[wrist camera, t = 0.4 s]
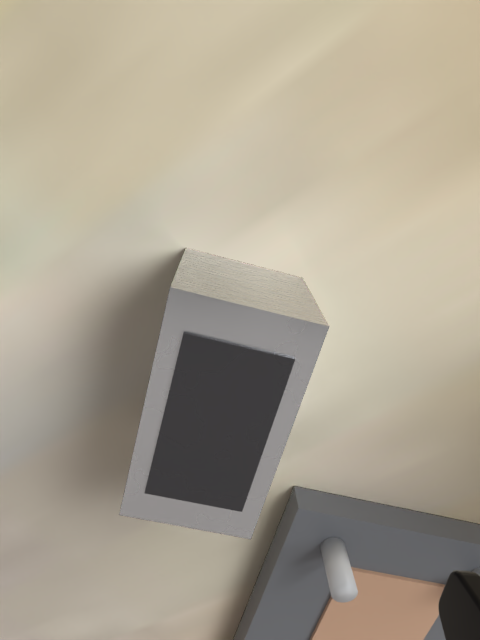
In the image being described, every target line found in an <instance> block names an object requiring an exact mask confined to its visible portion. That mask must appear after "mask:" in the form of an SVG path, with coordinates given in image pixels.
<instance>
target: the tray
mask: <svg viewBox="0 0 480 640" xmlns="http://www.w3.org/2000/svg"><path fill="white" fill-rule="evenodd" d="M455 570H458V571H471V572H475V573H477V574H478V575H479V576H480V524H476V523H471V522H466V521H461V520H456V519H451V518H447V517H442V516H437V515H432V514H427V513H422V512H418V511H413V510H408V509H403V508H398V507H393V506H389V505H384V504H379V503H374V502H369V501H364V500H359V499H355V498H350V497H345V496H340V495H335V494H330V493H326V492H321V491H316V490H311V489H306V488H301V487H296V486H294V488H293V491H292V493H291V496H290V498H289V501H288V503H287V506H286V508H285V511H284V513H283V516H282V518H281V521H280V523H279V526H278V528H277V531H276V533H275V536H274V538H273V541H272V543H271V546H270V548H269V551H268V554H267V556H266V559H265V561H264V564H263V566H262V569H261V571H260V574H259V576H258V579H257V581H256V584H255V586H254V589H253V591H252V594H251V596H250V599H249V601H248V604H247V606H246V609H245V611H244V614H243V616H242V619H241V621H240V624H239V626H238V629H237V631H236V634H235V636H234V639H233V640H446V639H445V635H444V631H443V627H442V624H441V620H440V616H439V606H438V605H439V599H440V597H441V594H442V592H443V589H444V587H445V584H446V582H447V580H448V577H449V575H450V573H451V572H453V571H455Z"/></svg>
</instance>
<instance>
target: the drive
mask: <svg viewBox="0 0 480 640" xmlns="http://www.w3.org/2000/svg"><path fill="white" fill-rule="evenodd" d="M328 329H329V325H328V323H327V321H326V320H325V318H324V316H323V314H322V312H321V310H320V308H319V307H318V305H317V303H316V301H315V299H314V297H313V296H312V294H311V292H310V290H309V288H308V286H307V285H306V283H305V281H304V279H303V278H302V277H298V276H294V275H290V274H286V273H283V272H279V271H275V270H271V269H267V268H263V267H259V266H256V265H252V264H248V263H244V262H240V261H236V260H232V259H228V258H225V257H221V256H217V255H213V254H209V253H205V252H201V251H198V250H194V249H190V248H186V249H185V251H184V254H183V256H182V259H181V261H180V264H179V266H178V269H177V271H176V274H175V276H174V279H173V281H172V284H171V286H170V290H169V294H168V299H167V303H166V308H165V312H164V317H163V321H162V326H161V330H160V335H159V339H158V344H157V348H156V353H155V357H154V362H153V366H152V370H151V375H150V379H149V384H148V388H147V393H146V397H145V402H144V406H143V411H142V415H141V420H140V424H139V429H138V433H137V438H136V442H135V446H134V451H133V455H132V460H131V464H130V469H129V473H128V478H127V482H126V487H125V491H124V496H123V500H122V505H121V509H120V514H119V515H122V516H128V517H133V518H138V519H144V520H149V521H155V522H160V523H166V524H171V525H176V526H182V527H187V528H193V529H198V530H204V531H209V532H214V533H220V534H225V535H231V536H236V537H241V538H247V539H251V537H252V535H253V532H254V529H255V527H256V524H257V521H258V518H259V516H260V513H261V510H262V508H263V505H264V502H265V499H266V497H267V494H268V491H269V489H270V486H271V483H272V480H273V478H274V475H275V472H276V470H277V467H278V464H279V461H280V459H281V456H282V453H283V451H284V448H285V445H286V442H287V440H288V437H289V434H290V432H291V429H292V426H293V423H294V421H295V418H296V415H297V413H298V410H299V407H300V404H301V402H302V399H303V396H304V394H305V391H306V388H307V385H308V383H309V380H310V377H311V375H312V372H313V369H314V366H315V364H316V361H317V358H318V356H319V353H320V350H321V348H322V345H323V342H324V339H325V337H326V334H327V331H328Z"/></svg>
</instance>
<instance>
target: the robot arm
mask: <svg viewBox="0 0 480 640" xmlns="http://www.w3.org/2000/svg"><path fill="white" fill-rule="evenodd" d="M438 606H439V616H440V620H441V624H442V627H443V631H444V635H445V639H446V640H480V576H479V575H478V574H477V573H475V572H471V571H458V570H455V571H453V572H451V573H450V575H449V577H448V580H447V582H446V584H445V587H444V589H443V592H442V594H441V597H440V599H439V605H438Z"/></svg>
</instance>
